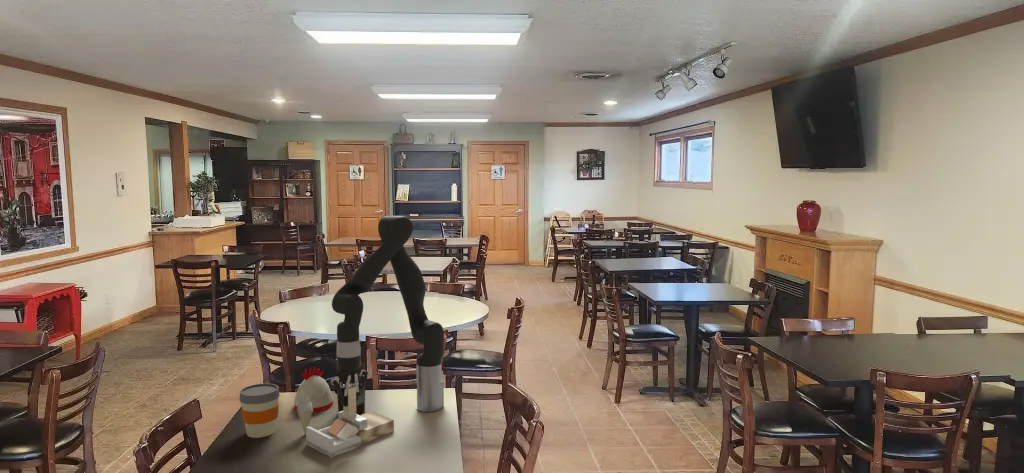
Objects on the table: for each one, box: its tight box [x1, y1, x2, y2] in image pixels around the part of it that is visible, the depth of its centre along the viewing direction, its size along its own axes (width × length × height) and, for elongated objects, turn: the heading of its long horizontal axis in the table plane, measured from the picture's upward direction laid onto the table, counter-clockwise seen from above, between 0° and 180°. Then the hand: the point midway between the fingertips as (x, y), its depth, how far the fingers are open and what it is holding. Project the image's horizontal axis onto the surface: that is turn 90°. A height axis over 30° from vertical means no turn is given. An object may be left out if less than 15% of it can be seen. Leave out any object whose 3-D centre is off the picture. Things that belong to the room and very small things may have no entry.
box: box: [305, 425, 362, 459], centre depth 197 cm, size 11×14×6 cm
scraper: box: [337, 385, 368, 430], centre depth 201 cm, size 4×12×13 cm, turn 50°
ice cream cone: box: [296, 392, 313, 435], centre depth 205 cm, size 5×5×15 cm
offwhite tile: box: [336, 423, 359, 441], centre depth 198 cm, size 5×5×2 cm
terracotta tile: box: [327, 418, 346, 438], centre depth 201 cm, size 5×5×2 cm
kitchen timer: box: [294, 366, 334, 413], centre depth 230 cm, size 14×14×15 cm
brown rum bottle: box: [335, 361, 367, 415], centre depth 223 cm, size 11×11×25 cm
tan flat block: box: [356, 410, 395, 445], centre depth 206 cm, size 14×12×4 cm
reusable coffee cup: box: [239, 382, 281, 439], centre depth 206 cm, size 13×13×15 cm
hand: (349, 404), depth 201 cm, fingers closed on scraper, 3 cm apart
